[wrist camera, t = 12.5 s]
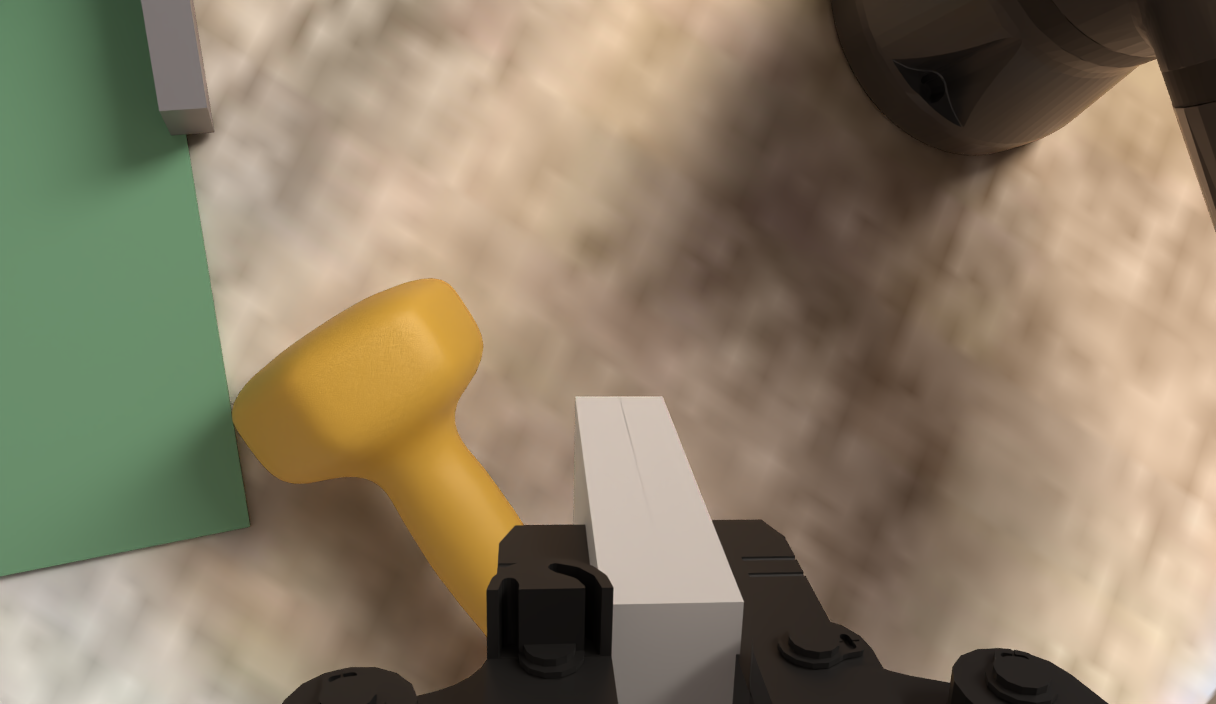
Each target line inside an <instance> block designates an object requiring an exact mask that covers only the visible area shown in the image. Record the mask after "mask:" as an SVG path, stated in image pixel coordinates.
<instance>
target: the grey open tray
mask: <svg viewBox="0 0 1216 704" xmlns="http://www.w3.org/2000/svg"><path fill="white" fill-rule="evenodd" d="M141 4H142V10H143V16H144V22H145V28H146V34H147V40H148V46H149V52H150V58H151V64H152V71H153V77H154V83H155V89H156V95H157V101H158V107H159V112H160V114H161V116H162V118H163V120H164V122H165V124H166V126H167V128H168V130H169V132H170V134H171V135H185V134H198V133H212V132H214V126H213V120H212V114H211V108H210V101H209V95H208V89H207V83H206V77H205V71H204V65H203V58H202V52H201V46H200V40H199V34H198V28H197V22H196V15H195V9H194V3H193V0H141Z"/></svg>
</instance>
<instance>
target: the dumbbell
mask: <svg viewBox="0 0 1216 704" xmlns="http://www.w3.org/2000/svg"><path fill="white" fill-rule="evenodd" d="M482 351H483V341H482V335H481V333H480V331H479V328H478V326H477V324H476V322H475V321H474V319H473V317H472V315H471V314H470V312H469V311H468V309H467V308H466V306H465V305H464V303H463V302H462V300H461V299H460V297H459V296H458V294H457V293H456V291H455V290H454V289H453V288H452V287H451V286H450V285H449V284H448V283H446V282H444V281H442V280H439V279H433V278H429V279H419V280H415V281H410V282H407V283H404V284H401V285H398V286H395V287H392V288H390V289H387V290H385V291H382V292H380V293H377V294H375V295H373V296H370V297H368V298H366V299H364V300H362V301H360V302H358V303H357V304H355V305H353V306H351V307H349V308H348V309H346V310H344V311H343V312H341V313H339V314H338V315H336V316H335V317H333V318H331V319H330V320H328V321H327V322H325V323H324V324H322V325H320V326H319V327H317V328H316V329H314V330H313V331H311V332H310V333H308V334H307V335H305V336H304V337H302V338H301V339H300V340H298V341H297V342H295V343H294V344H292V345H291V346H290V347H288V348H287V349H286V350H284V351H283V352H282V353H281V354H279V355H278V356H277V357H276V358H275V359H273V360H272V361H271V362H270V363H269V364H267V365H266V366H265V367H264V368H263V369H262V370H260V371H259V372H258V373H257V374H256V375H255V376H254V377H253V378H252V379H251V380H250V381H249V382H248V383H247V384H246V385H245V386H244V388H243V389H242V390H241V391H240V393H239V395H238V396H237V398H236V400H235V402H234V405H233V409H232V421H233V423H234V425H235V428H236V430H237V431H238V432H239V434H240V435H241V437H242V438H243V440H244V441H245V443H246V444H247V445H248V447H249V448H250V450H251V451H252V452H253V454H254V455H255V457H256V458H257V459H258V460H259V461H260V463H261V464H262V465H263V466H264V467H265V468H266V469H267V470H268V471H269V472H270V473H271V474H272V475H274V476H275V477H277V478H278V479H280V480H282V481H285V482H289V483H293V484H306V483H313V482H318V481H323V480H328V479H334V478H340V477H358V478H365V479H367V480H370V481H372V482H374V483H376V484H377V485H379V486H380V487H381V488H382V489H383V490H384V491H385V492H386V493H387V495H388V496H389V498H390V499H391V501H392V502H393V504H394V506H395V508H396V509H397V511H398V513H399V515H400V517H401V518H402V520H403V522H404V524H405V525H406V527H407V528H408V530H409V532H410V533H411V535H412V537H413V538H414V540H415V541H416V543H417V544H418V546H419V548H420V549H421V551H422V552H423V554H424V556H425V557H426V559H427V560H428V562H429V563H430V565H431V566H432V568H433V569H434V571H435V572H436V574H437V575H438V576H439V578H440V579H441V580H442V582H443V583H444V584H445V586H446V587H447V588H448V590H449V591H450V592H451V593H452V595H453V596H454V597H455V599H456V600H457V601H458V602H459V604H460V605H461V606H462V607H463V609H464V610H465V611H466V612H467V614H468V615H469V616H470V617H471V618H472V619H473V621H474V622H475V623H476V624H477V625H478V627H479V628H480V629H481V630H482V631H483V633H484V634H485V636H486V637H487V602H486V590H487V587H488V585H489V583H490V581H491V579H492V577H493V576H495V575H496V574H497V567H498V551H499V543H500V542H501V540H502V539H503V538H504V537H505V536H506V535H507V534H508V533H509V532H510V530H511V529H512V528H513V527H514V526H515V525H523V523H522V521H521V520H520V518H519V517H518V515H517V514H516V512H515V511H514V509H513V508H512V506H511V505H510V504H509V502H508V501H507V499H506V498H505V497H504V495H503V494H502V492H501V491H500V490H499V488H498V487H497V485H496V484H495V482H494V481H493V480H492V478H491V477H490V476H489V474H488V473H487V472H486V470H485V469H484V468H483V466H482V465H481V464H480V463H479V462H478V461H477V459H476V458H475V457H474V456H473V455H472V453H471V452H470V451H469V450H468V449H467V447H466V446H465V444H464V443H463V442H462V440H461V438H460V436H459V434H458V432H457V429H456V425H455V410H456V406H457V403H458V401H459V399H460V397H461V395H462V394H463V392H464V390H465V389H466V387H467V386H468V384H469V383H470V381H471V380H472V378H473V376H474V375H475V373H476V371H477V368H478V366H479V363H480V361H481V358H482Z"/></svg>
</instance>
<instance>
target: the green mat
mask: <svg viewBox="0 0 1216 704" xmlns="http://www.w3.org/2000/svg"><path fill="white" fill-rule="evenodd" d="M246 527H250V521H249V515H248V509H247V503H246V497H245V490H244V484H243V478H242V472H241V466H240V460H239V454H238V448H237V442H236V436H235V429H234V423H233V421H232V411H231V405H230V399H229V393H228V387H227V381H226V375H225V368H224V362H223V356H222V350H221V344H220V338H219V332H218V326H217V320H216V314H215V307H214V301H213V295H212V289H211V283H210V277H209V271H208V265H207V259H206V253H205V247H204V240H203V234H202V228H201V222H200V216H199V210H198V204H197V198H196V192H195V186H194V179H193V173H192V167H191V161H190V155H189V149H188V143H187V137H186V134H185V135H171V134H170V132H169V130H168V128H167V126H166V124H165V122H164V120H163V118H162V116H161V114H160V112H159V107H158V101H157V95H156V89H155V83H154V77H153V71H152V64H151V58H150V52H149V46H148V40H147V34H146V28H145V22H144V16H143V10H142V4H141V0H0V576H5V575H10V574H15V573H20V572H25V571H30V570H35V569H40V568H45V567H50V566H55V565H60V564H65V563H70V562H75V561H80V560H86V559H91V558H96V557H101V556H106V555H111V554H116V553H121V552H126V551H131V550H136V549H141V548H146V547H151V546H156V545H161V544H166V543H171V542H176V541H181V540H186V539H191V538H196V537H201V536H206V535H211V534H216V533H221V532H226V531H231V530H236V529H241V528H246Z"/></svg>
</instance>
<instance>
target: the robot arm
mask: <svg viewBox="0 0 1216 704" xmlns="http://www.w3.org/2000/svg"><path fill="white" fill-rule="evenodd" d="M831 1H832V9H833V15H834V20H835V24H836V29H837V32H838V36H839V39H840V42H841V45H842V48H843V50H844V53H845V55H846V58H847V60H848V62H849V64H850V66H851V68H852V70H853V72H854V74H855V76H856V78H857V79H858V81H859V82H860V84H861V86H862V87H863V89H864V90H865V91H866V93H867V94H868V96H869V97H870V98H871V100H872V101H873V102H874V103H875V104H876V106H877V107H878V108H879V109H880V110H881V111H882V112H883V113H884V114H885V115H886V116H887V117H888V118H889V119H890V120H891V121H892V122H893V123H895V124H896V125H897V126H898V127H900V128H901V129H902V130H904V131H905V132H906V133H908V134H909V135H911V136H913V137H914V138H916V139H918V140H919V141H921V142H923V143H925V144H927V145H930V146H932V147H935V148H937V149H940V150H944V151H947V152H952V153H956V154H964V155H986V154H993V153H997V152H1001V151H1005V150H1008V149H1012V148H1015V147H1018V146H1021V145H1025V144H1028V143H1031V142H1034V141H1037V140H1039V139H1042V138H1044V137H1046V136H1048V135H1050V134H1052V133H1054V132H1055V131H1057V130H1059V129H1060V128H1062V127H1064V126H1065V125H1066V124H1068V123H1069V122H1071V121H1072V120H1073V119H1074V118H1076V117H1077V116H1078V115H1079V114H1080V113H1082V112H1083V111H1084V110H1085V109H1087V108H1088V107H1089V106H1090V105H1091V104H1093V103H1094V102H1095V101H1096V100H1098V99H1099V98H1100V97H1101V96H1102V95H1104V94H1105V93H1106V92H1107V91H1109V90H1110V89H1111V88H1112V87H1113V86H1115V85H1116V84H1117V83H1118V82H1120V81H1121V80H1122V79H1123V78H1124V77H1126V76H1127V75H1128V74H1129V73H1131V72H1132V71H1133V70H1134V69H1135V68H1137V67H1138V66H1139V65H1142V64H1144V63H1147V62H1149V61H1152V60H1155V59H1157V61H1158V64H1159V67H1160V70H1161V72H1162V75H1163V78H1164V81H1165V84H1166V87H1167V90H1168V92H1169V95H1170V98H1171V101H1172V105H1173V109H1174V112H1175V115H1176V118H1177V121H1178V124H1179V127H1180V129H1181V132H1182V135H1183V138H1184V141H1185V144H1186V147H1187V150H1188V153H1189V156H1190V159H1191V162H1192V165H1193V167H1194V170H1195V173H1196V176H1197V179H1198V182H1199V185H1200V188H1201V191H1202V194H1203V197H1204V200H1205V203H1206V206H1207V208H1208V211H1209V214H1210V217H1211V220H1212V223H1213V226H1214V229H1215V232H1216V0H831ZM486 602H487V660H486V662H485V663H484V665H483V666H482V667H481V668H480V669H479V670H478V671H477V672H475V673H474V674H473V675H472V676H471V677H469V678H467V679H465V680H463V681H462V682H460V683H458V684H456V685H454V686H451V687H448V688H445V689H442V690H439V691H435V692H431V693H427V694H423V695H419V696H416V693H415V691H414V689H413V686H412V684H411V683H410V682H408V681H407V680H405V679H404V678H403V677H401V676H400V675H399V674H397V673H394V672H391V671H387V670H383V669H380V668H376V667H350V668H345V669H341V670H336V671H332V672H328V673H324V674H322V675H320V676H318V677H316V678H314V679H312V680H310V681H308V682H306V683H303V684H302V685H301V686H300V687H298V688H297V689H296V690H295V691H294V692H293V693H292V694H291V695H289V696H288V697H287V698H286V699H285V700H284V702H283V703H282V704H1108V703H1107V702H1105V701H1104V700H1103V699H1102V698H1100V697H1099V696H1098V695H1097V694H1095V693H1094V692H1093V691H1091V690H1090V689H1089V688H1088V687H1086V686H1085V685H1084V684H1082V683H1081V682H1080V681H1079V680H1077V679H1076V678H1075V677H1074V676H1072V675H1071V674H1069V673H1068V672H1066V671H1064V670H1063V669H1061V668H1059V667H1058V666H1056V665H1055V664H1053V663H1051V662H1049V661H1047V660H1044V659H1041V658H1039V657H1036V656H1033V655H1031V654H1029V653H1026V652H1022V651H1018V650H1014V651H1013V650H1011V649H1002V648H994V649H977V650H974V651H972V652H969V653H967V654H964V655H961V656H960V658H959V659H958V660H957V662H956V663H955V664H954V666H953V668H952V675H951V681H950V683H948V682H942V681H936V680H931V679H925V678H920V677H914V676H909V675H904V674H900V673H896V672H892V671H889V670H886V669H884V668H883V667H882V665H881V664H880V662H879V660H878V658H877V657H876V655H875V653H874V652H873V650H872V648H871V647H870V646H869V645H868V644H867V643H866V642H865V641H864V640H863V639H862V638H861V636H859V635H857V634H856V633H854V632H852V631H850V630H849V629H847V628H845V627H843V626H842V625H838V624H835V623H832V622H830V621H829V619H828V617H827V615H826V613H825V611H824V610H823V608H822V606H821V604H820V602H819V600H818V598H817V597H816V595H815V593H814V591H813V589H812V587H811V585H810V583H809V582H808V580H807V578H806V576H804V575H803V570H802V569H801V567H800V565H799V563H798V561H797V560H795V556H794V554H793V552H792V550H791V548H790V546H789V544H788V542H787V541H786V539H785V537H784V536H783V535H782V534H780V533H779V532H777V531H776V530H775V529H773V528H772V527H771V526H769V525H768V524H766V523H765V522H764V521H762V520H711V518H710V515H709V512H708V510H707V507H706V505H705V502H704V500H703V497H702V495H701V492H700V490H699V487H698V485H697V482H696V480H695V477H694V475H693V472H692V469H691V467H690V464H689V462H688V459H687V457H686V454H685V452H684V449H683V447H682V444H681V442H680V439H679V437H678V434H677V432H676V429H675V426H674V424H673V421H672V419H671V416H670V414H669V411H668V409H667V406H666V404H665V401H664V399H663V396H575V449H574V512H573V525H515V526H514V527H513V528H512V529H511V530H510V532H509V533H508V534H507V535H506V536H505V537H504V538H503V539H502V540H501V542H500V543H499V551H498V567H497V574H496V575H495V576H493V577H492V579H491V581H490V583H489V585H488V587H487V590H486Z"/></svg>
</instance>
